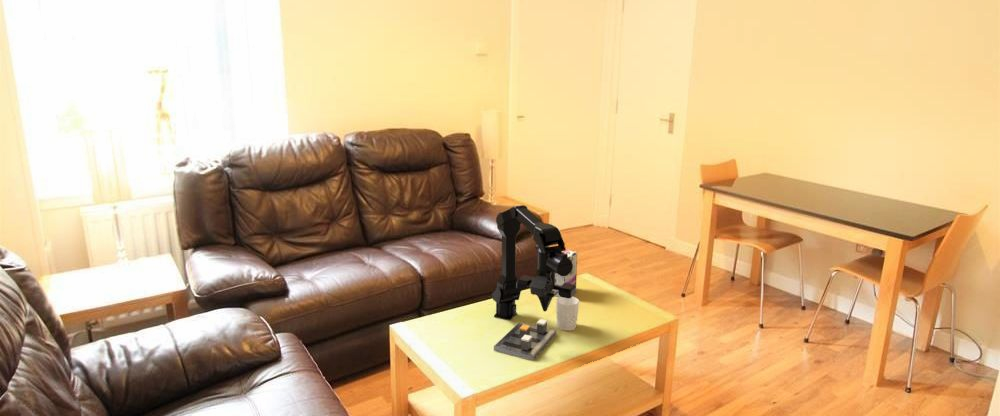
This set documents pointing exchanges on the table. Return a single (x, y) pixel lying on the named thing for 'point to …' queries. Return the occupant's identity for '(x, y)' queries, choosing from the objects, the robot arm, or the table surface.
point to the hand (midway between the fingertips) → (545, 310)
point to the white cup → (567, 313)
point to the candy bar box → (572, 275)
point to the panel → (513, 342)
